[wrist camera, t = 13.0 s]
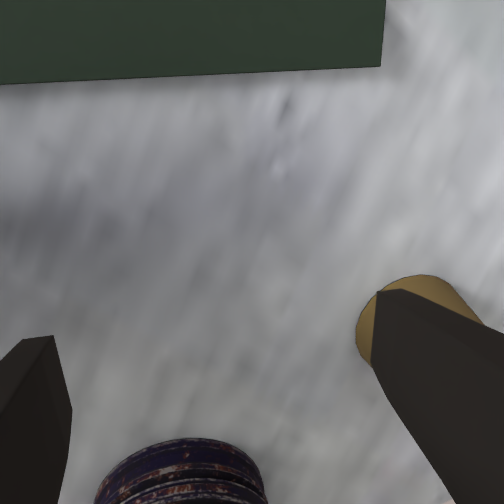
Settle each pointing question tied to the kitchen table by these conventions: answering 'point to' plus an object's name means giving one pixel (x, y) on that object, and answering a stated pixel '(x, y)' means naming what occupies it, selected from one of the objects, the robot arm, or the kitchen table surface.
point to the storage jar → (184, 476)
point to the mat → (183, 37)
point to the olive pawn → (421, 286)
